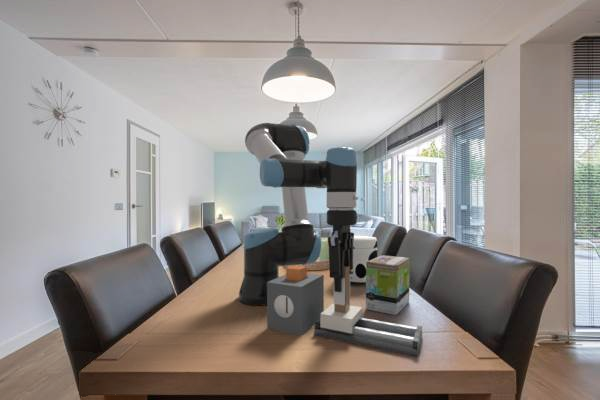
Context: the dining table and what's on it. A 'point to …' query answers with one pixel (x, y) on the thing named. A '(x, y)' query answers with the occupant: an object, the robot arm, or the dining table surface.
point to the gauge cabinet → (295, 303)
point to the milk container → (362, 257)
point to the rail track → (378, 335)
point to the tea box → (387, 284)
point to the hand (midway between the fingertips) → (342, 301)
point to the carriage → (342, 311)
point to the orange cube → (296, 273)
